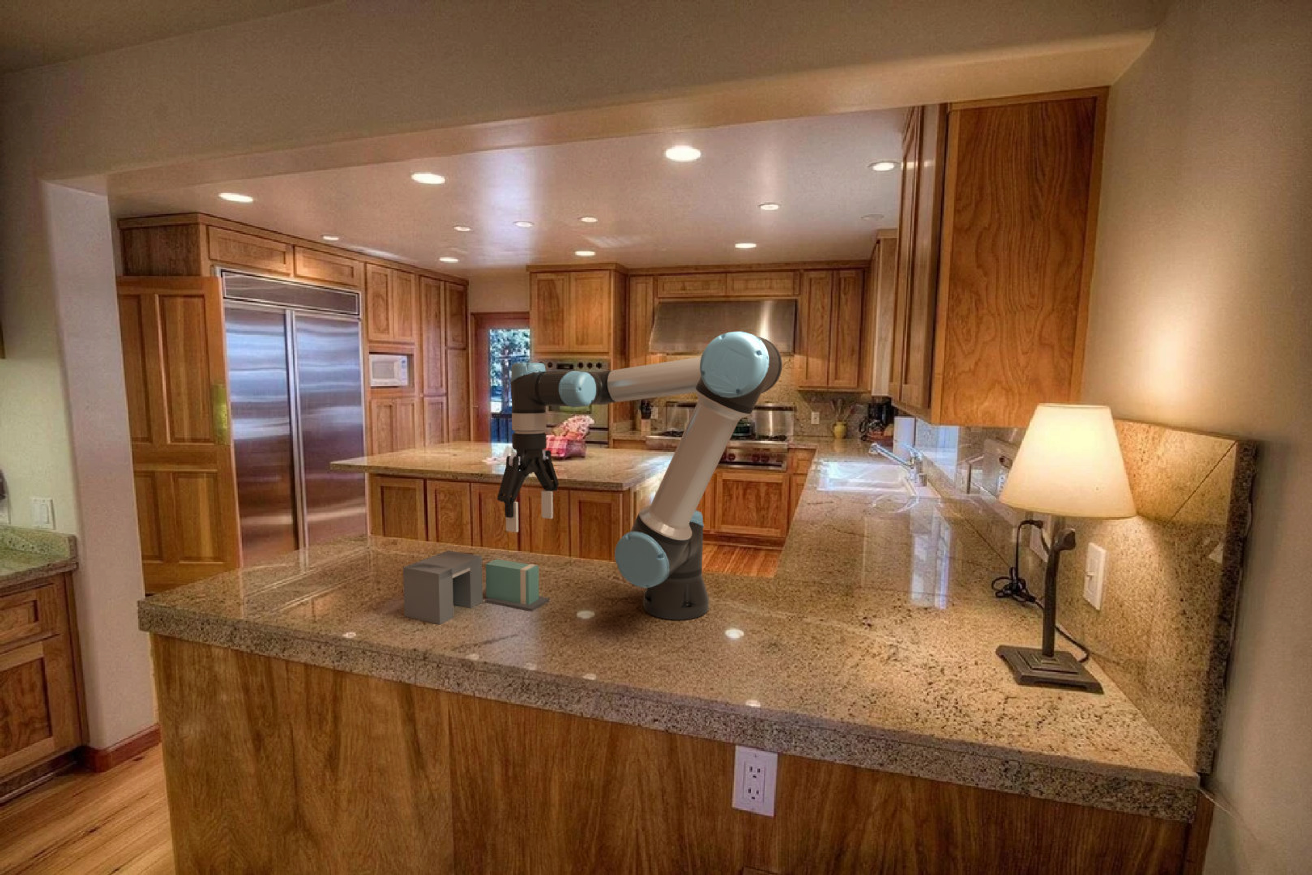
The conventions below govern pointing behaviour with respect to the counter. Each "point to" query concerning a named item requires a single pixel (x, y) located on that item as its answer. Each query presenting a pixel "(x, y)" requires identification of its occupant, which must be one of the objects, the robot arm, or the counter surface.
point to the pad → (518, 605)
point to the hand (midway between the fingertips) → (530, 524)
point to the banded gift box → (512, 581)
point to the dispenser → (442, 585)
